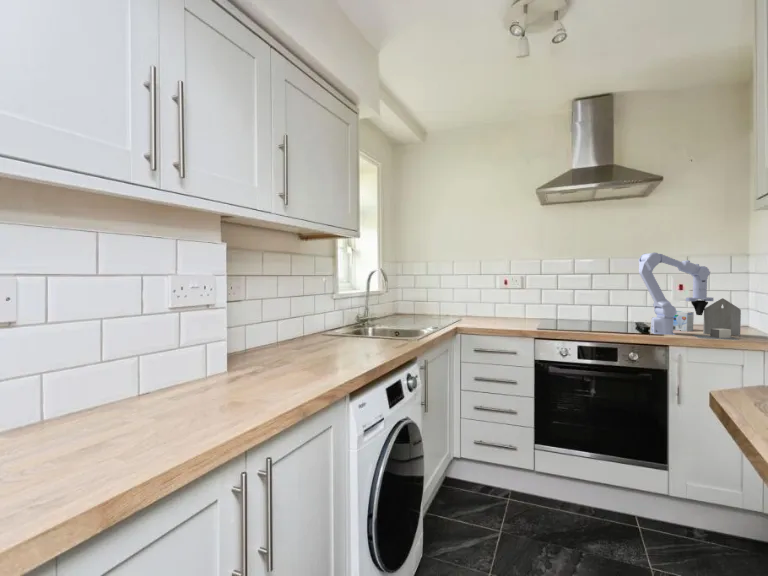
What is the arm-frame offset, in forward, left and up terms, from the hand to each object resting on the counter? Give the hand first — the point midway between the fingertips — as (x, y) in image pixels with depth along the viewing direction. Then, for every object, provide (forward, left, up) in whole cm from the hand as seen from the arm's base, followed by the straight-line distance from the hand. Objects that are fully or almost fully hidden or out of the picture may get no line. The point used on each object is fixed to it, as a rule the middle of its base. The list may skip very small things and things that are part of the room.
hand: (699, 315), depth 206 cm
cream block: (+3, -12, -8) cm, 15 cm away
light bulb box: (-3, +19, -11) cm, 22 cm away
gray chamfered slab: (+10, +6, -11) cm, 16 cm away
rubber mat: (+3, -11, -10) cm, 16 cm away
